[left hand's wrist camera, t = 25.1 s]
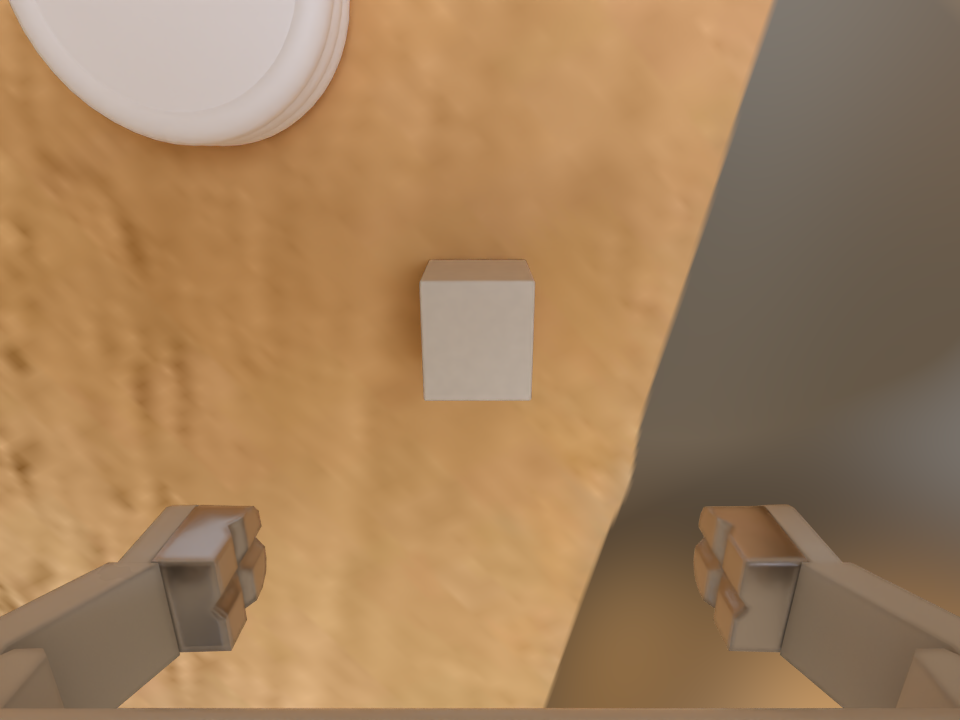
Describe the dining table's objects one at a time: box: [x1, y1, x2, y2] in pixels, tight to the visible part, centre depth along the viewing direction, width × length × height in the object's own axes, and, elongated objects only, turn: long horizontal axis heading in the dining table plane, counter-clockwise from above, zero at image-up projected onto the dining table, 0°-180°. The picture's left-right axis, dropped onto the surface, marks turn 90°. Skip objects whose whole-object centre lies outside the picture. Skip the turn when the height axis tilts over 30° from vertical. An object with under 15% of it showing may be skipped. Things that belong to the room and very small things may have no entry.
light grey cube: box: [419, 260, 535, 401], centre depth 22 cm, size 4×4×4 cm
